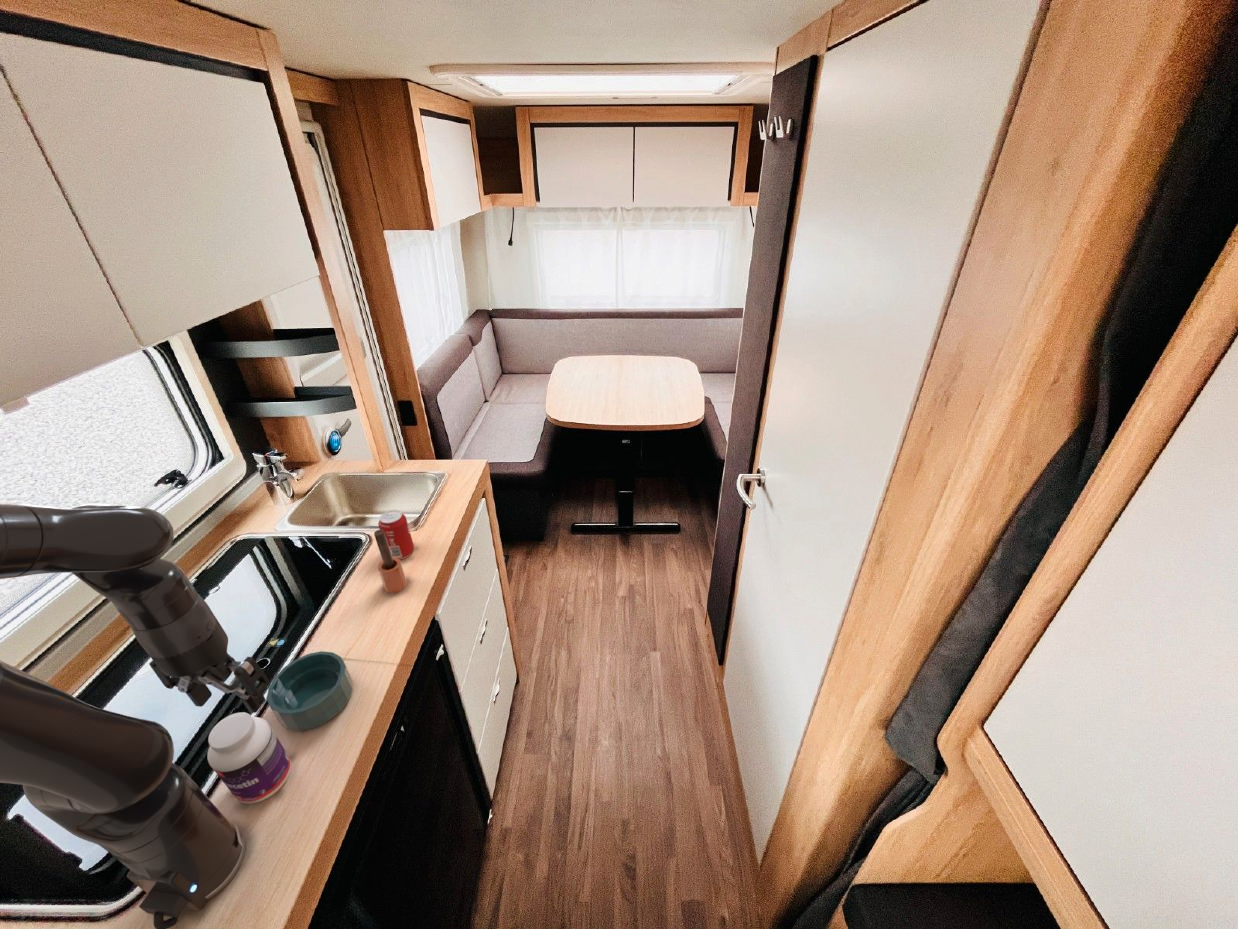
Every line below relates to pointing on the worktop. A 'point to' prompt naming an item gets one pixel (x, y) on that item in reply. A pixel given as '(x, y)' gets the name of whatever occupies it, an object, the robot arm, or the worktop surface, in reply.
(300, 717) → the bowl
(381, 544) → the cooking stick
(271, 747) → the pill bottle
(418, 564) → the worktop surface
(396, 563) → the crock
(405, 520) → the beverage can
